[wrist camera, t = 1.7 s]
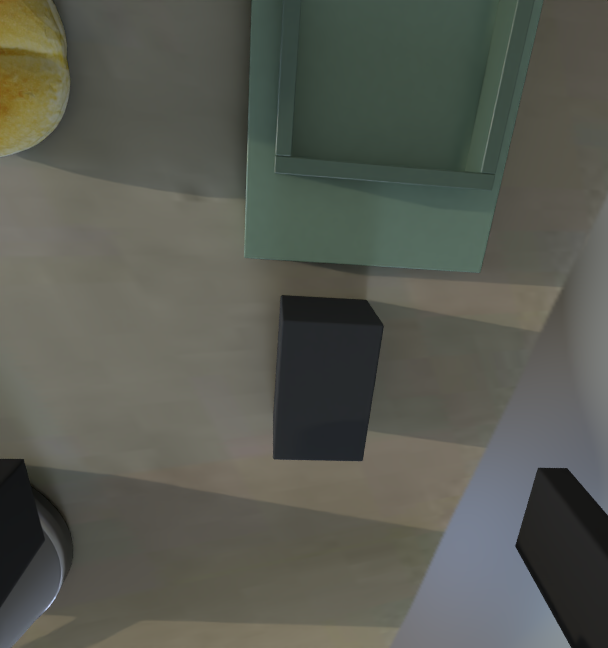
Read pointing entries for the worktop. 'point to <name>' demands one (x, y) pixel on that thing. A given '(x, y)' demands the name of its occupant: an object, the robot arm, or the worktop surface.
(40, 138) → the bread roll
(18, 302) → the worktop surface
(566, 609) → the robot arm
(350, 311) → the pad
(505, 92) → the base pad
